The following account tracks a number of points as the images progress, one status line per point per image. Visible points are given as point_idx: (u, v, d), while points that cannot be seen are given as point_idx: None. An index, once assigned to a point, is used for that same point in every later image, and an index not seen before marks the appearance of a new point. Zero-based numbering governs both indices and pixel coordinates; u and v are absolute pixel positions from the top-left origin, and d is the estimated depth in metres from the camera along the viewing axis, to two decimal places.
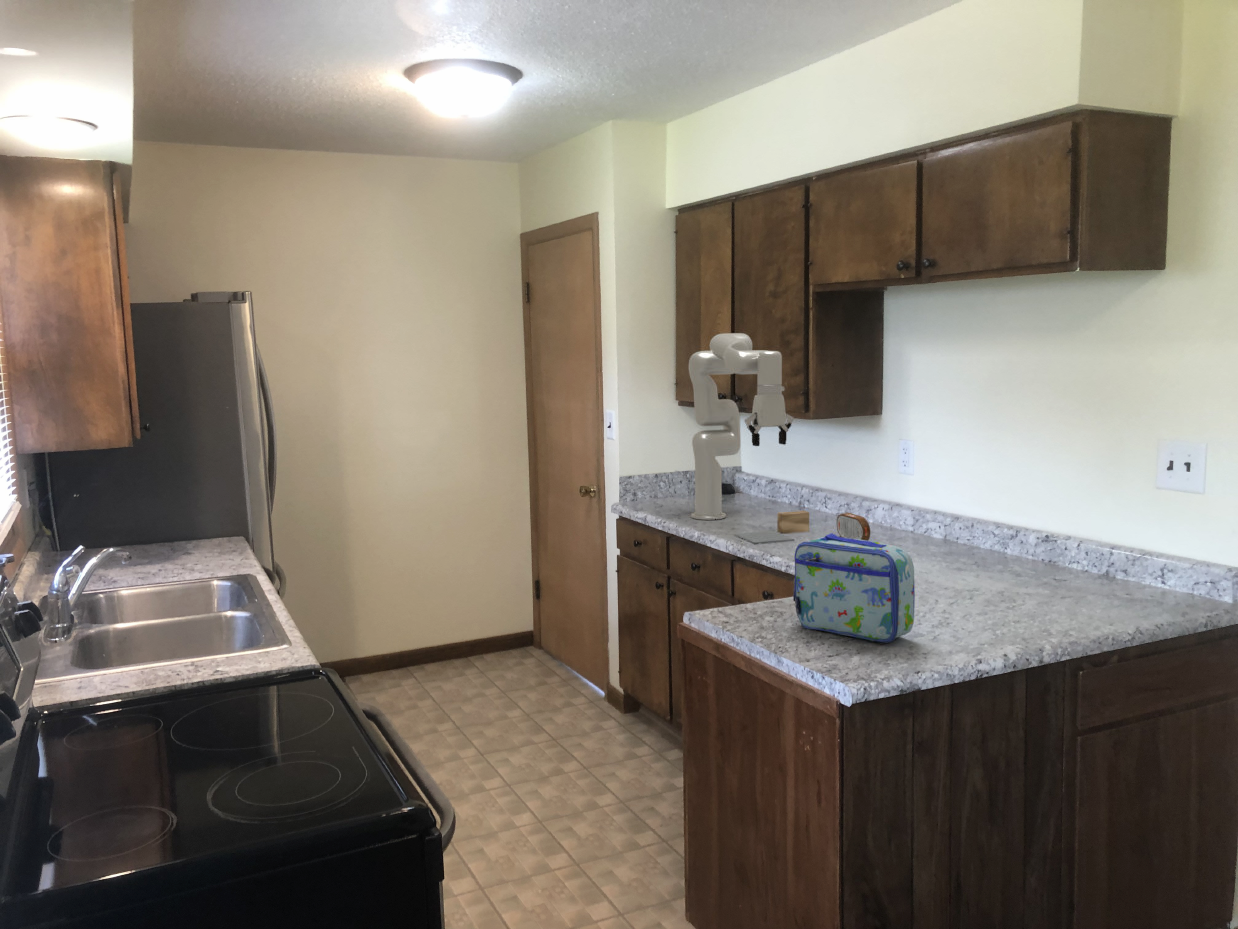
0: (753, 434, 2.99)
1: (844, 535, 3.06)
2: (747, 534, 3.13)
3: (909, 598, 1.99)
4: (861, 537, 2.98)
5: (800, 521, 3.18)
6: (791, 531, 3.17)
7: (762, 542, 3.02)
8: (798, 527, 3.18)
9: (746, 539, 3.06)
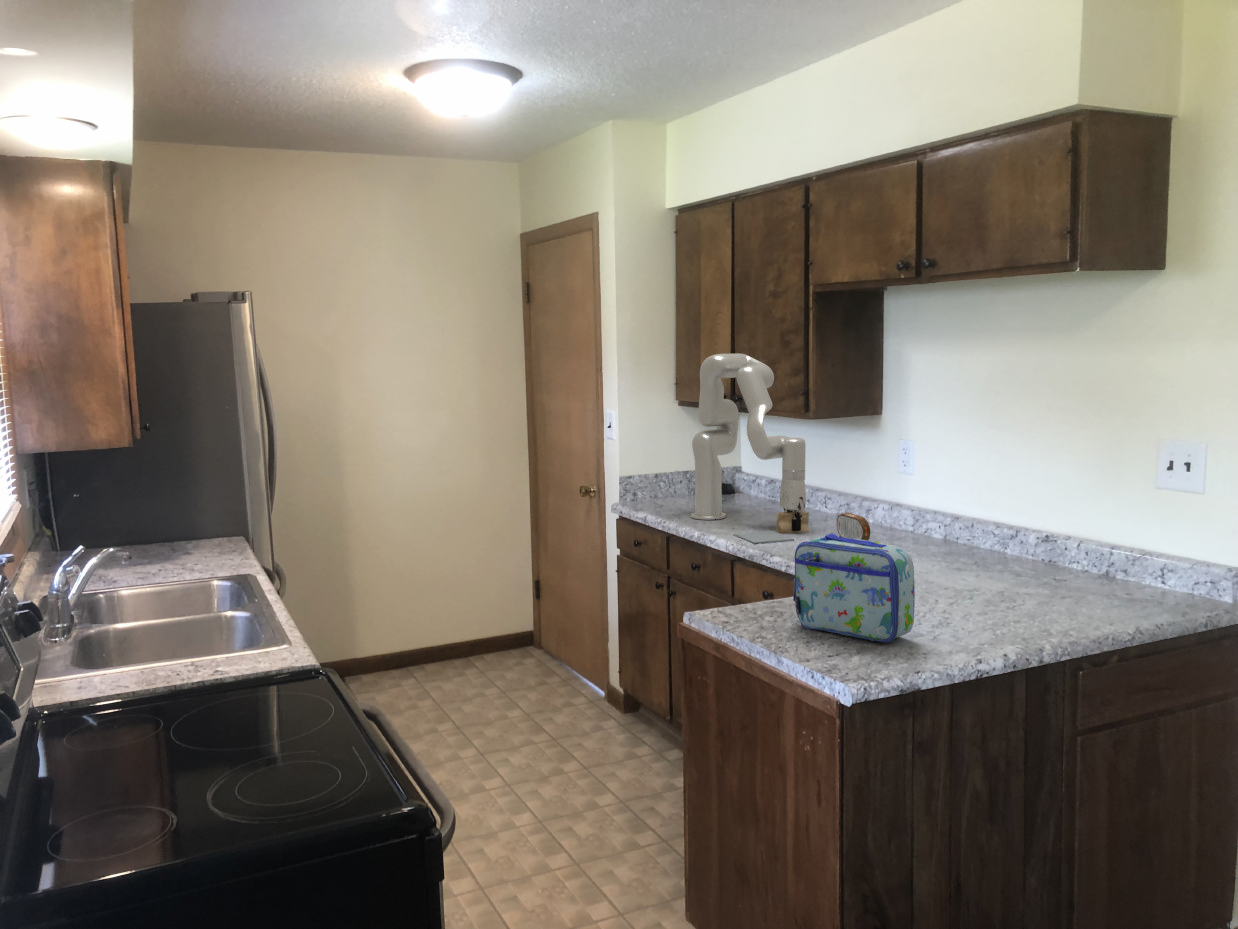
0: (798, 520, 3.16)
1: (844, 535, 3.06)
2: (747, 534, 3.13)
3: (909, 598, 1.99)
4: (861, 537, 2.98)
5: None
6: (790, 531, 3.17)
7: (762, 542, 3.02)
8: None
9: (746, 539, 3.06)
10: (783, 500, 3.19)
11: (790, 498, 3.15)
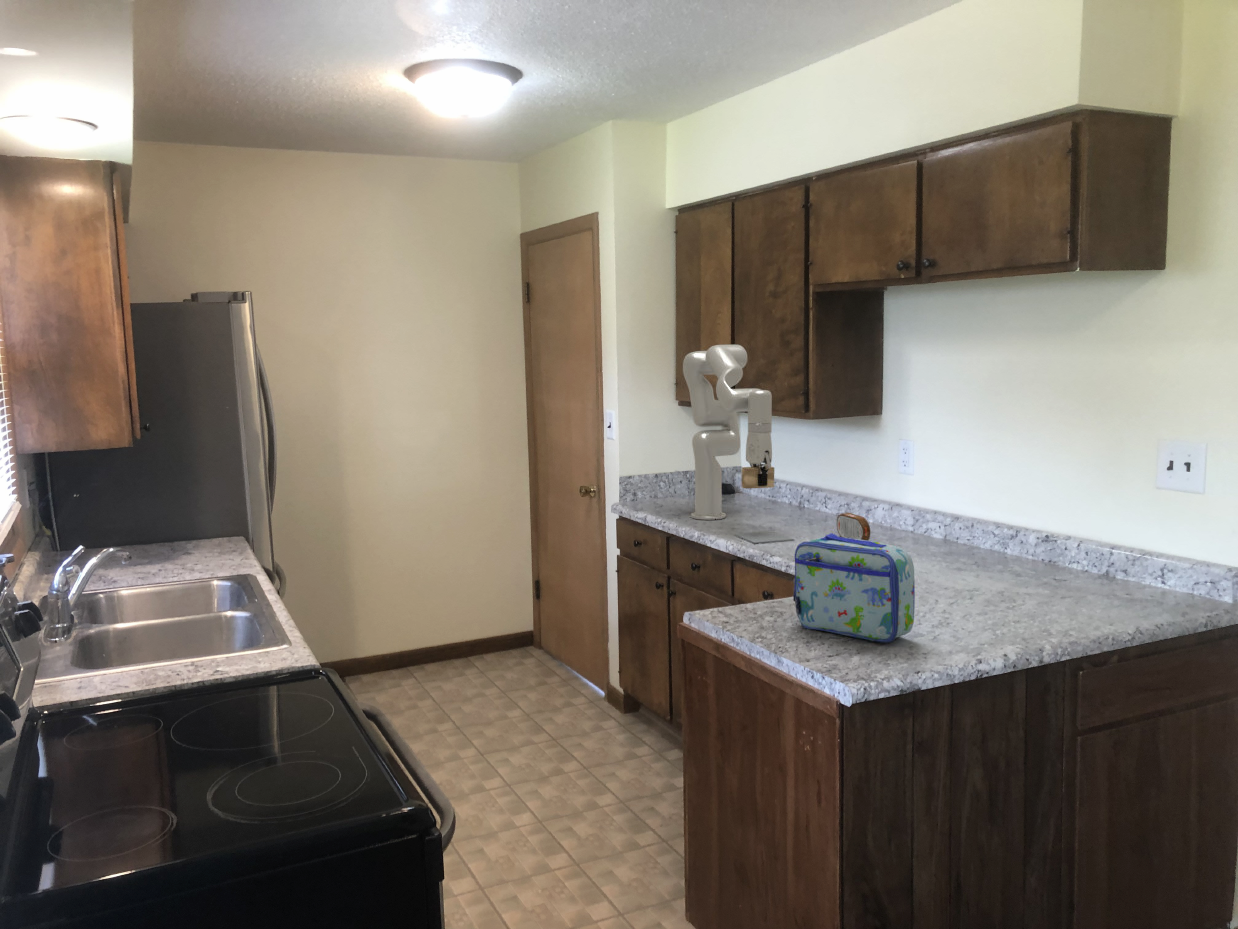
0: (764, 475, 3.07)
1: (844, 535, 3.06)
2: (747, 534, 3.13)
3: (909, 598, 1.99)
4: (861, 537, 2.98)
5: None
6: (755, 486, 3.08)
7: (762, 542, 3.02)
8: None
9: (746, 539, 3.06)
10: (749, 454, 3.10)
11: (756, 452, 3.06)
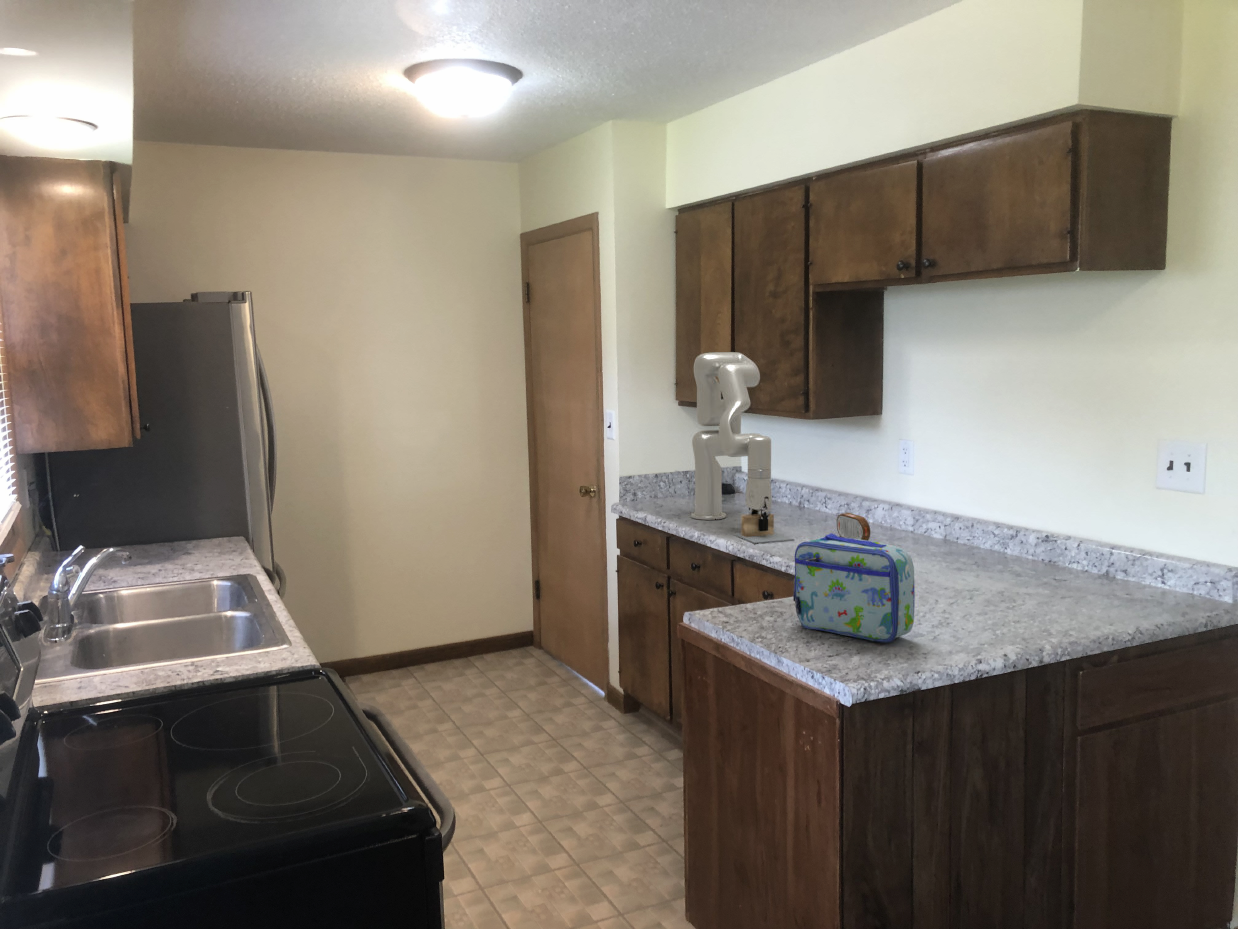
0: (765, 520, 3.08)
1: (844, 535, 3.06)
2: None
3: (909, 598, 1.99)
4: (861, 537, 2.98)
5: None
6: (755, 534, 3.10)
7: (762, 542, 3.02)
8: None
9: (746, 539, 3.06)
10: (749, 500, 3.12)
11: (755, 498, 3.07)
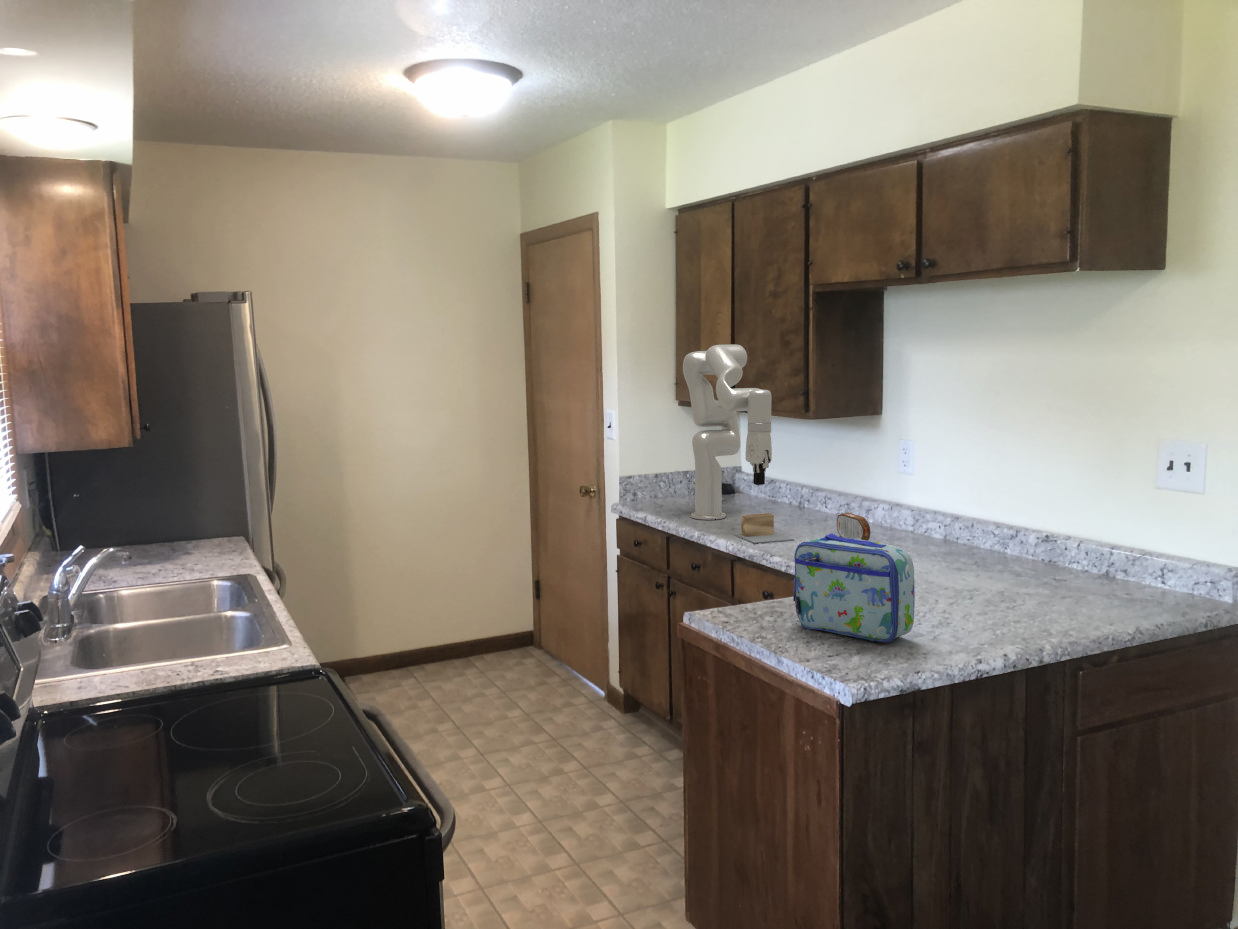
0: (761, 473, 3.09)
1: (844, 535, 3.06)
2: None
3: (909, 598, 1.99)
4: (861, 537, 2.98)
5: (764, 524, 3.11)
6: (755, 534, 3.10)
7: (762, 542, 3.02)
8: (762, 530, 3.11)
9: (746, 539, 3.06)
10: (749, 454, 3.10)
11: (755, 451, 3.06)
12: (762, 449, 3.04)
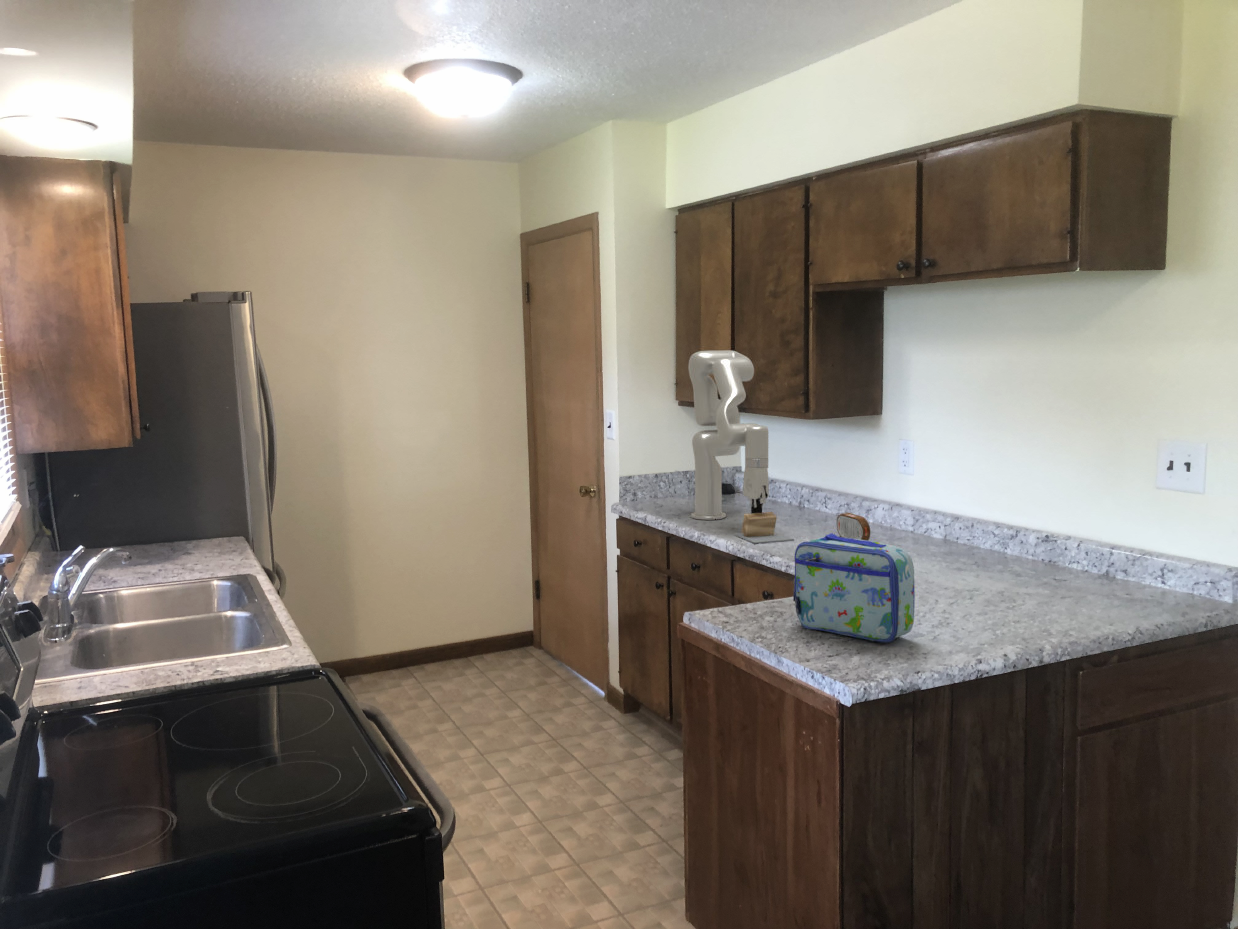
0: (759, 508, 3.12)
1: (844, 535, 3.06)
2: None
3: (909, 598, 1.99)
4: (861, 537, 2.98)
5: (766, 525, 3.10)
6: (755, 534, 3.10)
7: (762, 542, 3.02)
8: (763, 531, 3.11)
9: (746, 539, 3.06)
10: (746, 489, 3.13)
11: (753, 487, 3.09)
12: (759, 485, 3.07)
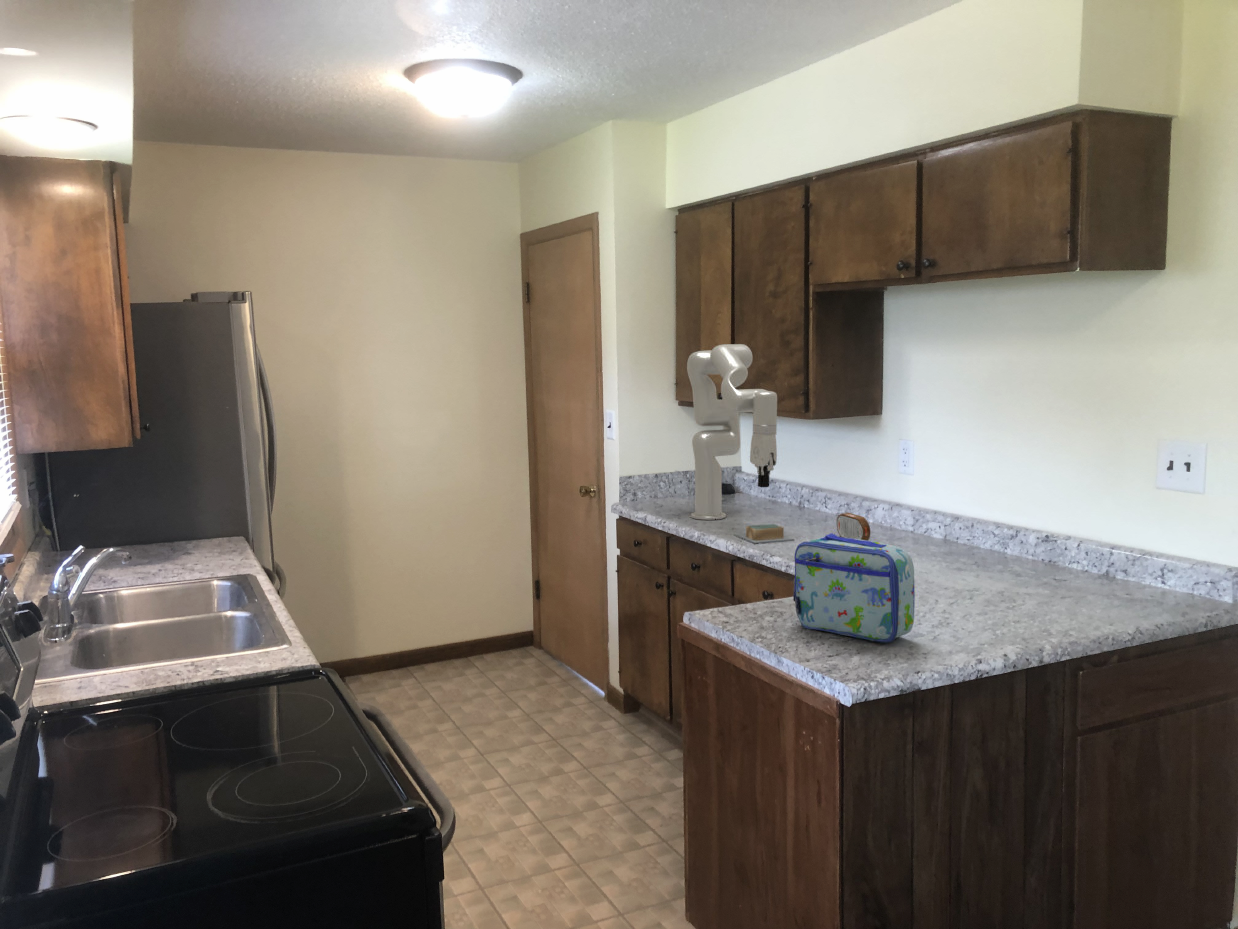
0: (766, 476, 3.06)
1: (844, 535, 3.06)
2: None
3: (909, 598, 1.99)
4: (861, 537, 2.98)
5: None
6: None
7: (762, 542, 3.02)
8: None
9: (746, 539, 3.06)
10: (753, 456, 3.07)
11: (760, 454, 3.03)
12: (767, 452, 3.01)
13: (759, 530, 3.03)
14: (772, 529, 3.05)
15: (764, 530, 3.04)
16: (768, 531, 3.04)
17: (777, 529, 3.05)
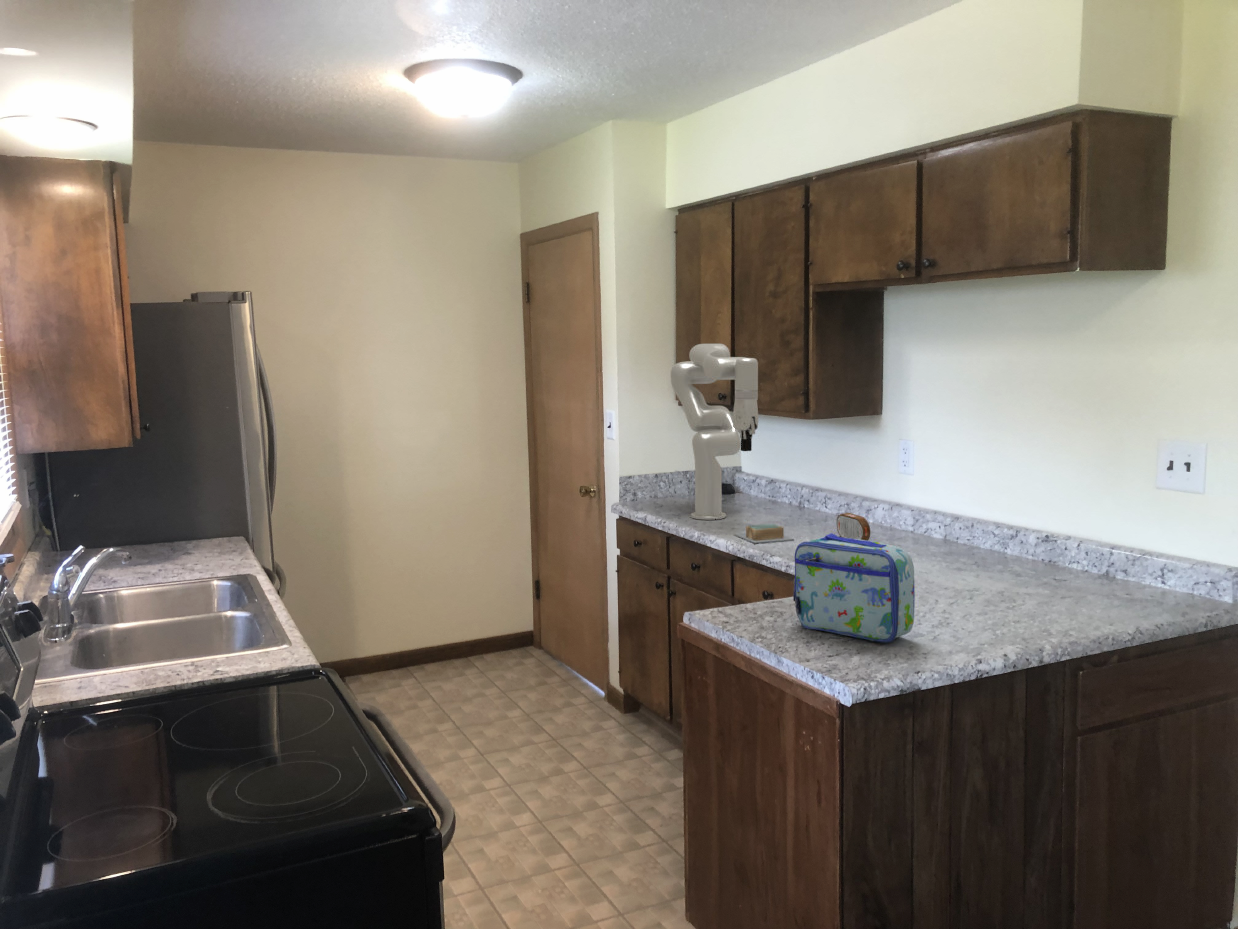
0: (748, 440, 3.16)
1: (844, 535, 3.06)
2: None
3: (909, 598, 1.99)
4: (861, 537, 2.98)
5: None
6: None
7: (762, 542, 3.02)
8: None
9: (746, 539, 3.06)
10: (736, 421, 3.18)
11: (742, 418, 3.13)
12: (749, 416, 3.12)
13: (759, 530, 3.03)
14: (772, 529, 3.05)
15: (764, 530, 3.04)
16: (768, 531, 3.04)
17: (777, 529, 3.05)
